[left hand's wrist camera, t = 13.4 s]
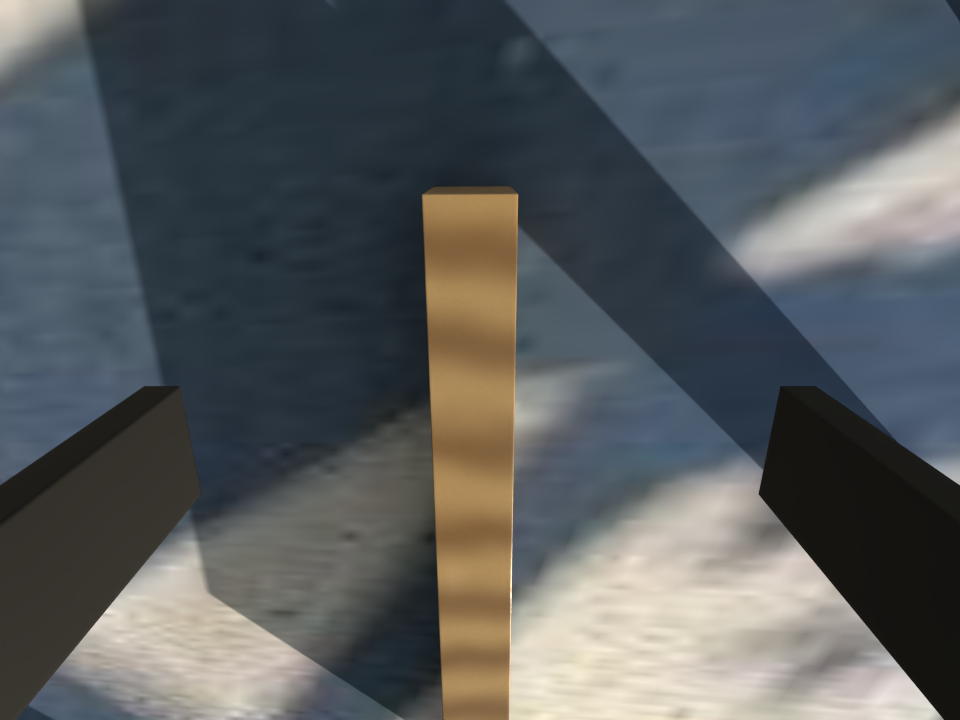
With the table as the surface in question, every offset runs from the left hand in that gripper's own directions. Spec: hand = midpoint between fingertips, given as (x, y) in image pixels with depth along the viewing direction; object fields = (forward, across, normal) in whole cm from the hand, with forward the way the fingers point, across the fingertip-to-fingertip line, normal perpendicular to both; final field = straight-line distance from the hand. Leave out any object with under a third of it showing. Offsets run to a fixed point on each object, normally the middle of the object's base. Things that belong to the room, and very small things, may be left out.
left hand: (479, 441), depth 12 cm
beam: (+27, 0, -22) cm, 35 cm away
